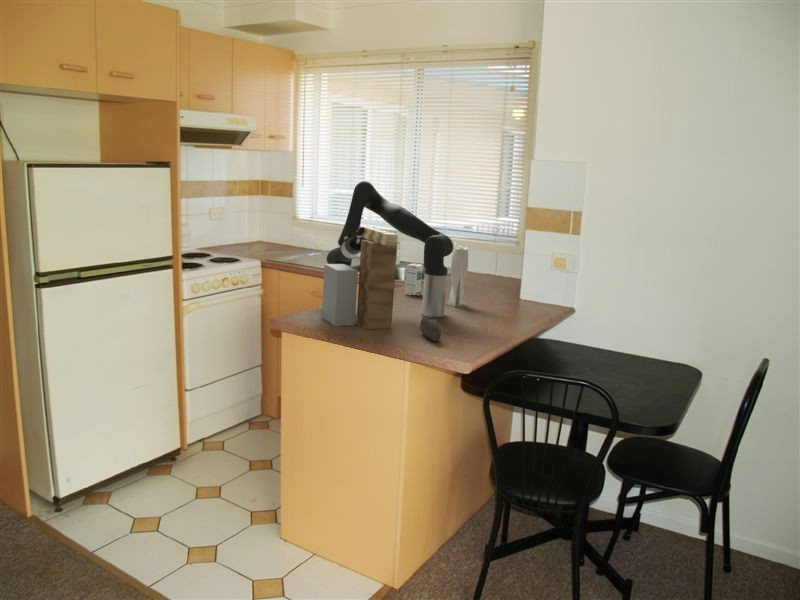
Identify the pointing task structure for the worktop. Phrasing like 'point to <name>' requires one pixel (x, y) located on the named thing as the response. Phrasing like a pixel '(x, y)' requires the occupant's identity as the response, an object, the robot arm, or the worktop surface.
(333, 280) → the grey block
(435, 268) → the robot arm
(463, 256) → the skyscraper
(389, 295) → the tall wooden tower
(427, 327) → the perforated stone tool
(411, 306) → the worktop surface
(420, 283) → the syrup box
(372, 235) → the birch beam
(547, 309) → the worktop surface
